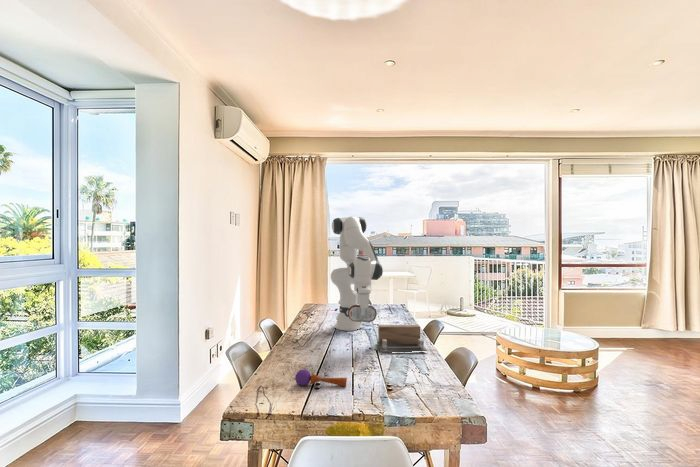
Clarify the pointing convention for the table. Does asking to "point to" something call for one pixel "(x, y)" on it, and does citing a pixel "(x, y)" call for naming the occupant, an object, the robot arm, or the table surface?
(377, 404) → the table surface
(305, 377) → the kendama
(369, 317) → the tin
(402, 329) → the cabinet
